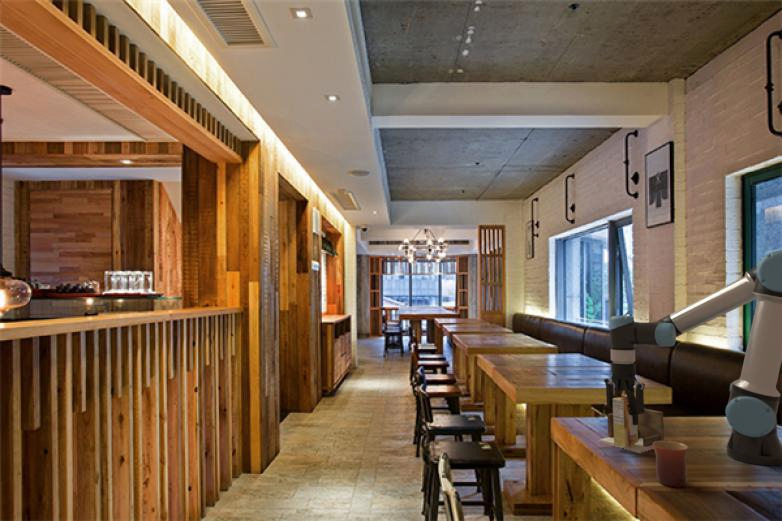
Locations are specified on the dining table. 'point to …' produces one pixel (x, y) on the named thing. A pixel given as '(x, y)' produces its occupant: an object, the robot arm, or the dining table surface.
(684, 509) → the dining table surface
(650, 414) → the bookend
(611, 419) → the dark wooden panel
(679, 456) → the mug
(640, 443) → the shelf board
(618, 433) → the candy box
